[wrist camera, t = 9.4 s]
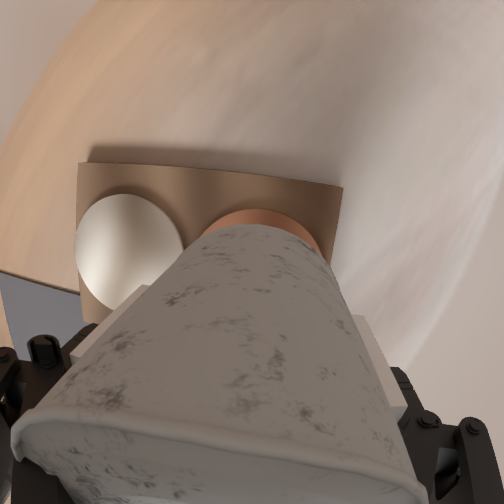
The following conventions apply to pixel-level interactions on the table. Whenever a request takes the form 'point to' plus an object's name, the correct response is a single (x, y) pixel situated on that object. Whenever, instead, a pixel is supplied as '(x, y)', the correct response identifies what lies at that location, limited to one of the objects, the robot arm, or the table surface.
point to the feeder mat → (39, 312)
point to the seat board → (179, 220)
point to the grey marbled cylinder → (226, 390)
